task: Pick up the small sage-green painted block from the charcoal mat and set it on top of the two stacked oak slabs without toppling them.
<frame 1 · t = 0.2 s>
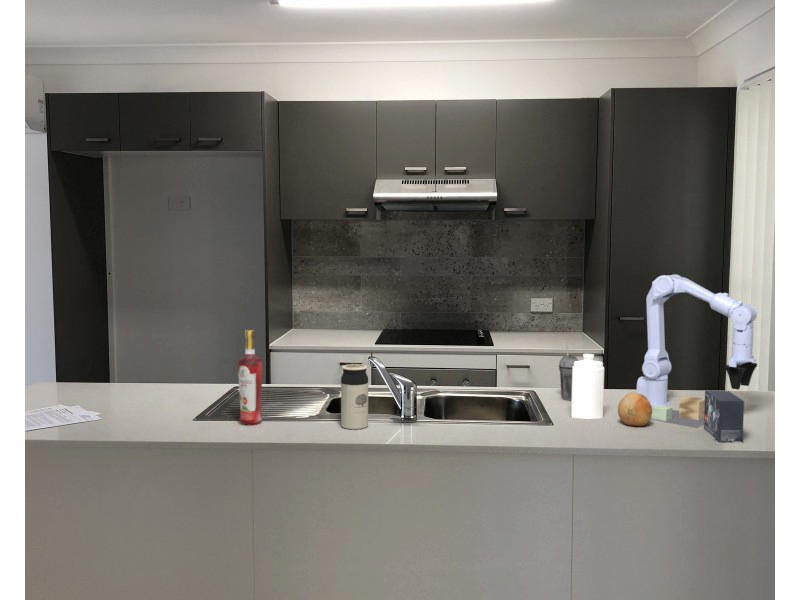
hand: (740, 387, 221), 10 cm above the countertop, tool pointing down, fingers open, 7 cm apart
beverage cup: (568, 399, 248), on the countertop
oak slab upper: (692, 407, 223), point 3 cm above the countertop, touching oak slab lower
squeeze bottle: (586, 418, 222), on the countertop
onion: (634, 426, 213), on the countertop
travel mug: (354, 427, 211), on the countertop
sage block: (661, 418, 221), resting on mat
small box: (722, 437, 203), on the countertop
liquor: (250, 423, 214), on the countertop
mat: (682, 419, 221), on the countertop
oak slab lower: (692, 416, 223), resting on mat, touching oak slab upper
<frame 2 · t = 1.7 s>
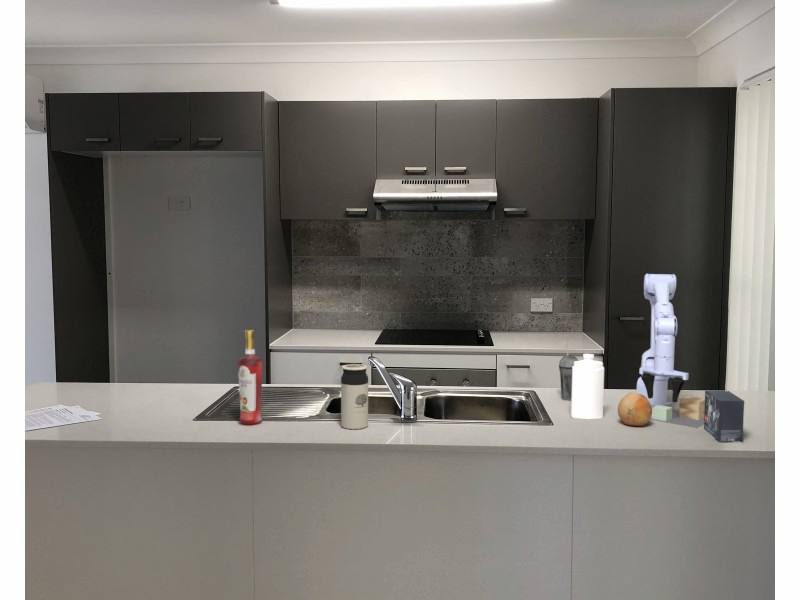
hand: (662, 399, 220), 6 cm above the countertop, tool pointing down, fingers open, 7 cm apart
nothing on the countertop moved.
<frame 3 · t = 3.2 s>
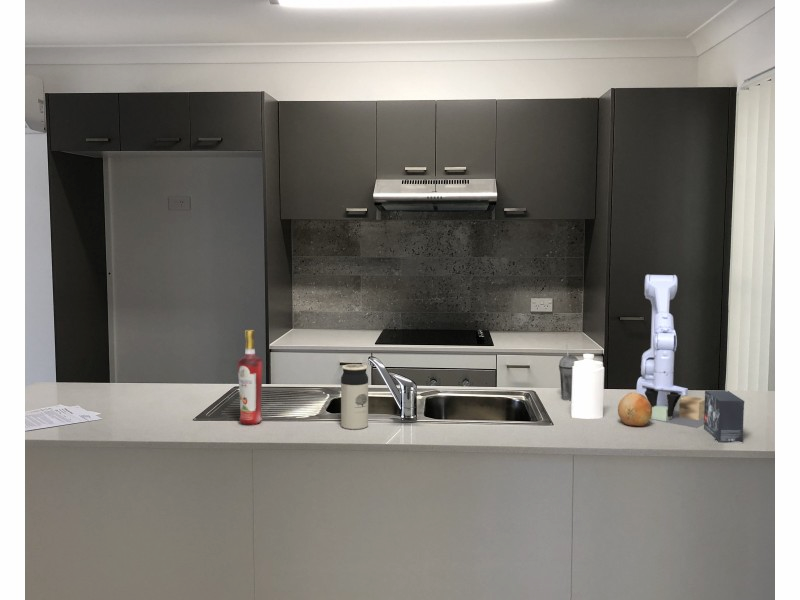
hand: (661, 414, 220), 2 cm above the countertop, tool pointing down, fingers closed on sage block, 4 cm apart
sage block: (661, 418, 221), resting on mat, touching gripper
everything else where it was.
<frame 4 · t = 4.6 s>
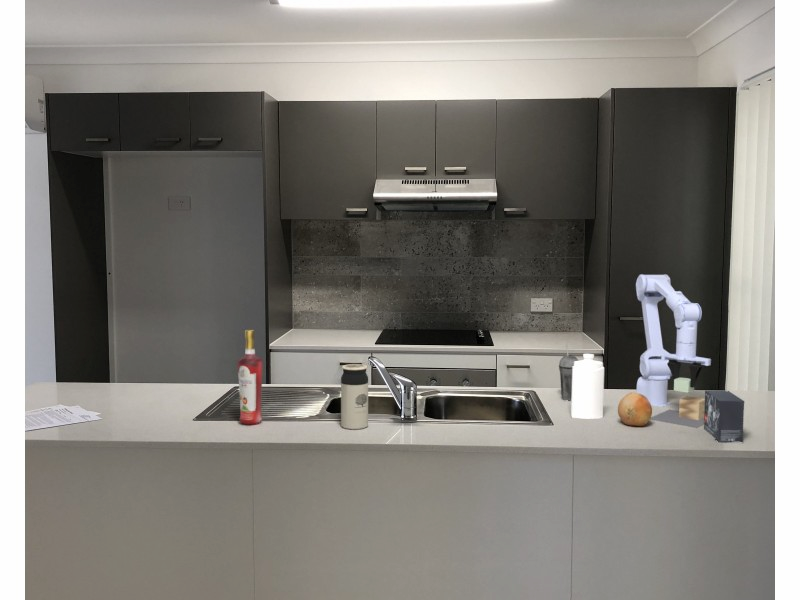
hand: (684, 385, 221), 10 cm above the countertop, tool pointing down, fingers closed on sage block, 4 cm apart
sage block: (683, 390, 221), point 9 cm above the countertop, touching gripper
everything else where it was.
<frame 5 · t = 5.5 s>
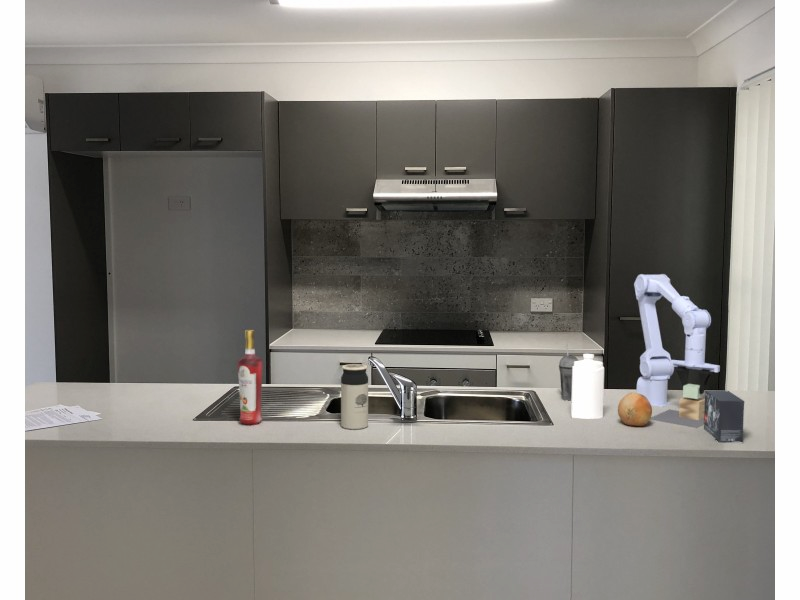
hand: (693, 392, 222), 8 cm above the countertop, tool pointing down, fingers closed on sage block, 4 cm apart
sage block: (692, 396, 222), point 7 cm above the countertop, touching gripper
everything else where it was.
when the fingers open (8 cm above the countertop, at t = 6.1 s): sage block stays where it is, resting on oak slab upper.
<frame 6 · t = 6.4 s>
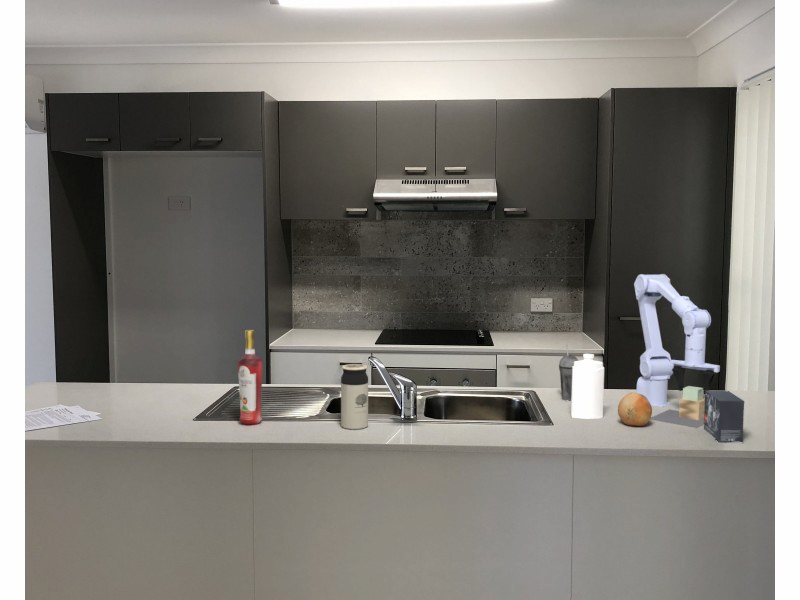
hand: (693, 392, 222), 8 cm above the countertop, tool pointing down, fingers open, 7 cm apart
oak slab upper: (692, 407, 223), point 3 cm above the countertop, touching oak slab lower, sage block
sage block: (692, 399, 223), point 6 cm above the countertop, touching oak slab upper
everything else where it was.
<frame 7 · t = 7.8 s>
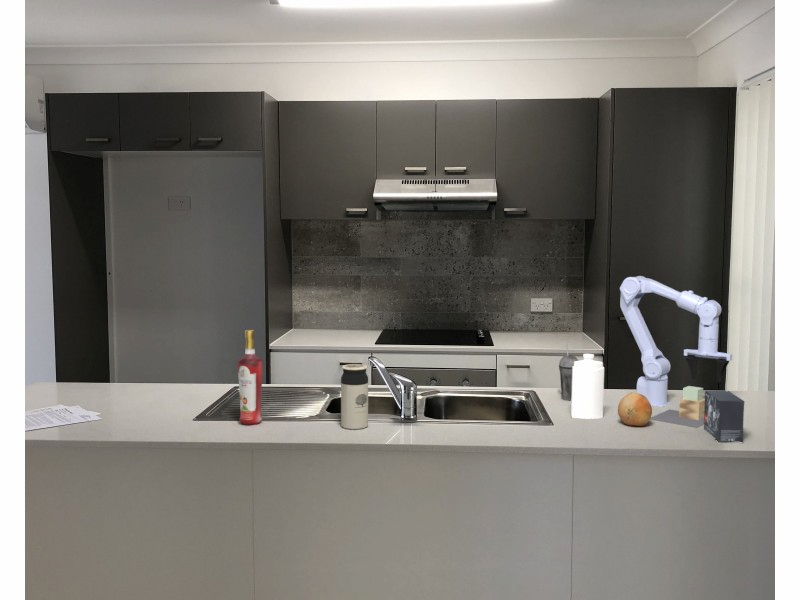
hand: (706, 380, 230), 10 cm above the countertop, tool pointing down, fingers open, 7 cm apart
nothing on the countertop moved.
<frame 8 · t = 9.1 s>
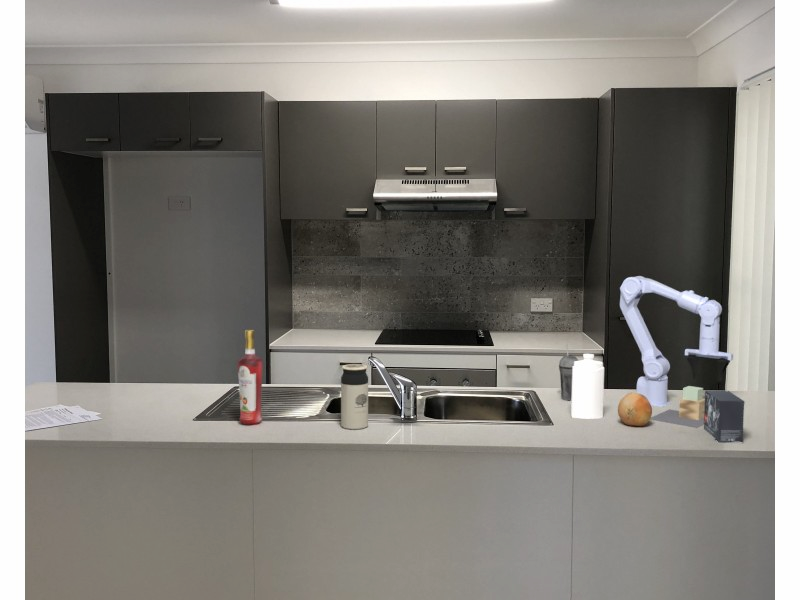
hand: (707, 379, 231), 10 cm above the countertop, tool pointing down, fingers open, 7 cm apart
nothing on the countertop moved.
at the end: sage block 0.1 cm off-centre on the oak slab upper, point 2.8 cm above the oak slab upper's base; sage block tilted 0°; oak slab upper moved 0.0 cm from its start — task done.
